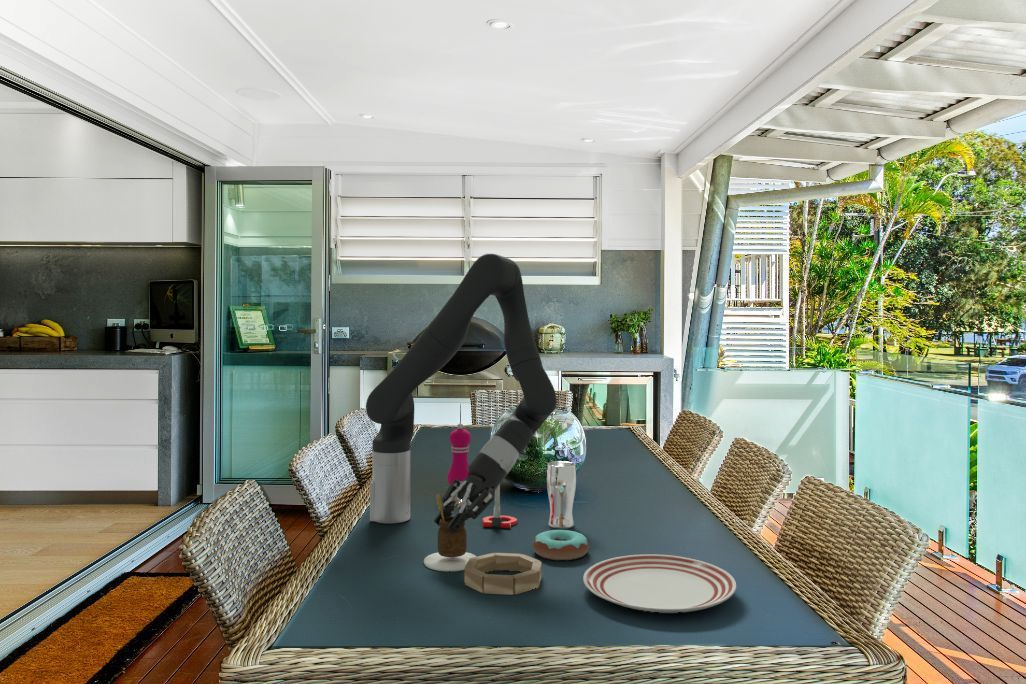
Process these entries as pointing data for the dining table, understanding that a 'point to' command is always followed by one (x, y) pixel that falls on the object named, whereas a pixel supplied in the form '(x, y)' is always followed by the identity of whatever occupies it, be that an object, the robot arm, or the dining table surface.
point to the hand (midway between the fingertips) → (444, 527)
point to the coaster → (447, 562)
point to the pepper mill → (459, 454)
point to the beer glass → (561, 493)
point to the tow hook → (498, 515)
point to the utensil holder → (450, 536)
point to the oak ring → (503, 583)
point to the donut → (560, 545)
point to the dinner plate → (660, 583)
